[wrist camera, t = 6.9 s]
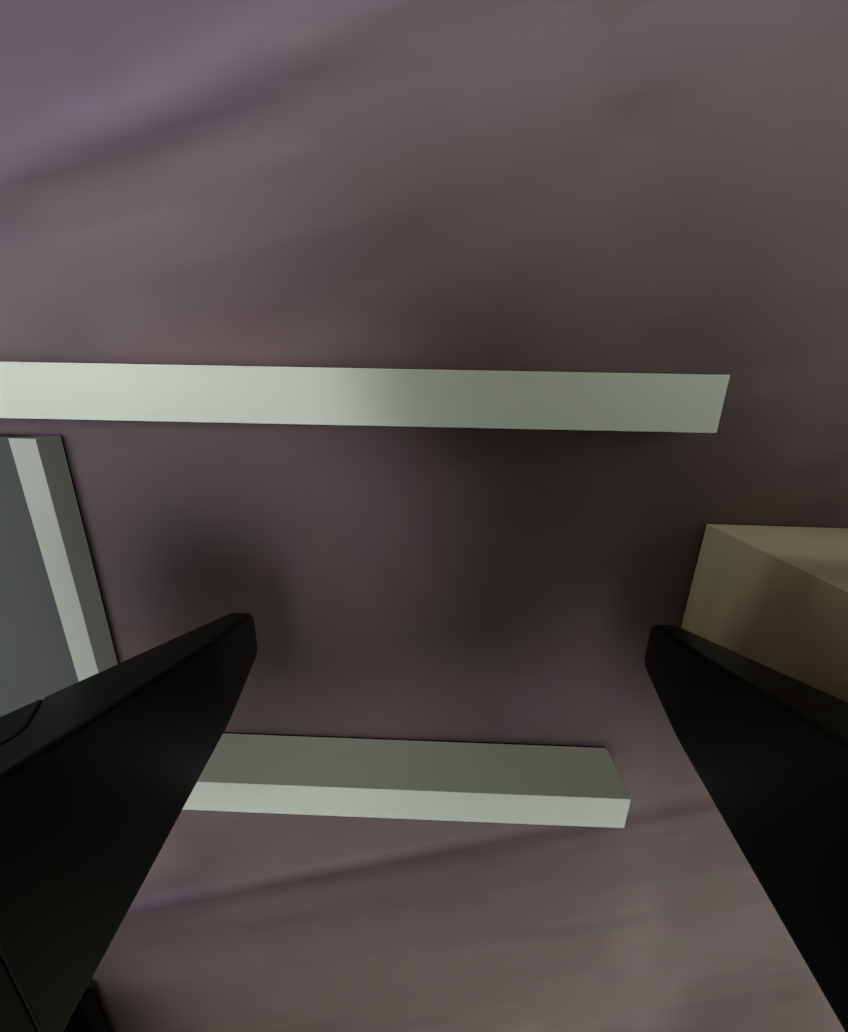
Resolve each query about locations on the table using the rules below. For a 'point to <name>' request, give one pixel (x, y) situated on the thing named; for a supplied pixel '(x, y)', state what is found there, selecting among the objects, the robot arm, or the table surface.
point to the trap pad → (45, 577)
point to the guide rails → (385, 402)
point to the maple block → (776, 599)
